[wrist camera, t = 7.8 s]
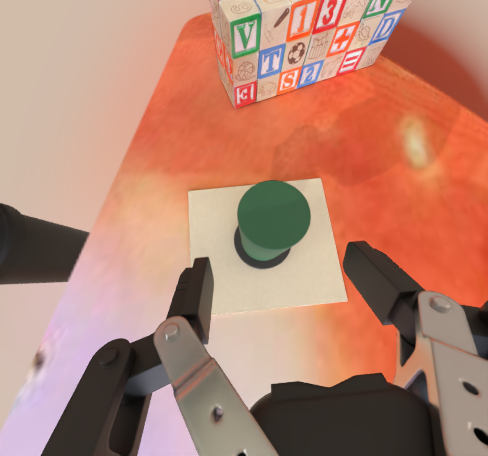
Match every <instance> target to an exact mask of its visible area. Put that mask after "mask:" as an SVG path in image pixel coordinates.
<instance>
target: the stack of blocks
mask: <svg viewBox="0 0 488 456" xmlns="http://www.w3.org/2000/svg"><path fill="white" fill-rule="evenodd" d="M209 1H210V8H211V16H212V22H213V23H212V26H213V34H214V41H215V48H216V53H217V61H218V68H219V75H220V78H221V80H222V82H223V84H224V87H225V89H226V91H227V93H228V96H229V98H230V100H231V102H232V104H233V106H234V107H235V108H238V107H241V106H244V105H247V104H250V103H253V102H255V101H256V102H258V101H261V100H264V99H268V98H271V97H273V96H275V95H280V94H283V93H286V92H289V91H292V90H295V89H296V88H300V87H303V86H306V85H310V84H313V83H315V82H318V81H321V80H324V79H328V78H331V77H334V76H338V75H342V74H345V73H348V72H351V71H354V70H358V69H361V68H364V67H367V66H370V65H373V64H374V62H375V60H376V59H377V57H378V55H379V54H380V52H381V50H382V49H383V47H384V46H385V44H386V42H387V40H388V38H389V36H390V35H391V33H392V31H393V30H394V28H395V26H396V25H397V23H398V21H399V19H400V18H401V17H402V15H403V13H404V12H405V10H406V8H407V6H408V5H409V4H410V3H411V1H412V0H209Z"/></svg>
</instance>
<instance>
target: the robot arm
mask: <svg viewBox="0 0 488 456" xmlns="http://www.w3.org/2000/svg"><path fill="white" fill-rule="evenodd" d="M343 268H344V271H345V273H346V275H347V276H348V277H349V279H350V280H351V282H352V283H353V284H354V286H355V287H356V288H357V290H358V291H359V293H360V294H361V295H362V297H363V298H364V300H365V301H366V302H367V304H368V305H369V307H370V308H371V309H372V311H373V312H374V313H375V315H376V316H377V318H378V319H379V320H380V322H381V323H382V325H391V324H394V326H395V327H396V328H397V329H398V330H397V332H396V373H395V377H394V380H393V384H392V383H389V382H387V381H386V379H385V377H384V376H383V374H382V373H374V374H364V375H355V376H353V377H351V378H349V379H347V380H345V381H343V382H341V383H339V384H337V385H335V386H333V387H323V386H318V385H314V384H309V383H304V382H299V381H297V382H287V383H278V384H271V393H269V394H267V395H265V396H264V397H262V398H261V399H259V400H258V401H257V402H256V403H255V404H254V405H253V406H252V408H251V409H250V410H248V408H247V407H246V405H245V404H244V402H243V401H242V399H241V398H240V396H239V394H238V393H237V391H236V390H235V388H234V387H233V385H232V384H231V382H230V381H229V379H228V378H227V376H226V375H225V373H224V372H223V370H222V369H221V367H220V366H219V364H218V363H217V361H216V360H215V359H214V358H212V357H211V356H210V355H209V353H208V352H207V350H206V349H205V347H204V344H208V339H209V330H210V320H211V310H212V301H213V291H214V277H213V272H212V268H211V264H210V259H209V257H199V258H195V259H194V263H193V267H191V268H186V269H185V270H184V271H183V272H182V274H181V275H180V278H179V281H178V285H177V287H176V291H175V293H174V296H173V299H172V302H171V305H170V309H169V312H168V315H167V318H166V320H165V321H163V322H162V323H161V324H160V325H159V326H158V328H157V329H156V331H155V332H154V333H153V334H151V335H149V336H147V337H144V338H142V339H140V340H137V341H135V342H132V343H129V341H128V340H126V339H122V338H121V339H115V340H112V341H110V342H108V343H107V344H105V345H104V346H103V347H101V348H100V349H99V350H98V351H97V352H96V353H95V355H94V356H93V357H92V359H91V361H90V362H89V364H88V366H87V368H86V370H85V372H84V374H83V376H82V378H81V380H80V381H79V383H78V385H77V387H76V389H75V391H74V393H73V395H72V397H71V399H70V401H69V402H68V404H67V406H66V408H65V410H64V412H63V414H62V416H61V418H60V420H59V422H58V423H57V425H56V427H55V429H54V431H53V433H52V435H51V437H50V439H49V441H48V443H47V444H46V446H45V448H44V450H43V452H42V454H41V456H137V454H138V450H139V446H140V442H141V437H142V433H143V429H144V425H145V421H146V417H147V412H148V408H149V404H150V400H151V396H152V392H154V391H156V390H158V389H160V388H162V387H164V386H166V385H168V384H170V383H171V385H172V387H173V390H174V396H175V399H176V402H177V404H178V407H179V409H180V411H181V414H182V416H183V419H184V421H185V423H186V426H187V428H188V431H189V433H190V435H191V438H192V440H193V443H194V445H195V448H196V450H197V452H198V455H199V456H488V301H487V302H485V304H484V305H483V306H482V307H481V308H478V307H472V306H465V305H459V304H458V303H457V302H456V301H454V300H453V299H451V298H450V297H448V296H446V295H443V294H441V293H438V292H434V291H426V290H424V289H423V288H422V287H421V286H420V285H419V284H418V283H417V282H416V281H415V280H413V279H412V278H411V277H410V276H409V275H408V274H407V273H406V272H405V271H403V270H402V269H401V268H399V266H398V265H397V264H396V263H395V262H393V261H392V260H391V259H390V258H389V257H388V256H387V255H386V254H384V253H382V252H381V251H379V250H377V249H373V248H372V247H371V246H370V245H369V244H368V243H367V242H366V241H355V242H349V243H348V245H347V249H346V253H345V257H344V261H343Z"/></svg>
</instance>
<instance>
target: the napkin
mask: <svg viewBox="0 0 488 456" xmlns="http://www.w3.org/2000/svg"><path fill="white" fill-rule="evenodd" d="M285 182H286V183H288V184H290V185H292V186H294V187H295V188H297V189H298V190H299V191H300V192H301V193H302V194H303V195H304V197H305V198H306V200H307V202H308V204H309V207H310V212H311V221H310V226H309V229H308V231H307V233H306V235H305V236H304V237H303V238H302V240H301V241H299V242H298V243H297V244H296V245H294V246H292V247H291V250H290V252H289V254H288V256H287V258H286V259H285V260H284V261H283V262H282V263H281V264H279V265H278V266H275V267H273V268H270V269H255V268H252V267H250V266H248V265H247V264H245V263H244V262H243V261H242V260H241V259H240V257H239V256H238V254H237V252H236V249H235V246H234V234H235V231H236V228H237V226H238V225H239V224H238V219H237V210H238V205H239V202H240V200H241V198H242V196H243V195H244V194H245V192H246V191H247V190H248V189H250V188H251V187H252V186H254V185H245V186H235V187H225V188H215V189H205V190H195V191H188V201H189V234H190V267H193V263H194V259H195V258H199V257H209V259H210V264H211V268H212V272H213V277H214V291H213V301H212V310H211V315H220V314H229V313H239V312H249V311H258V310H268V309H278V308H287V307H297V306H306V305H316V304H326V303H335V302H345V301H348V300H347V295H346V291H345V286H344V282H343V277H342V273H341V268H340V263H339V259H338V254H337V250H336V245H335V241H334V236H333V231H332V227H331V222H330V218H329V213H328V209H327V204H326V199H325V195H324V190H323V186H322V181H321V178H315V179H305V180H295V181H285ZM255 185H256V184H255Z"/></svg>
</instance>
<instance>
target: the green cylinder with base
mask: <svg viewBox="0 0 488 456" xmlns="http://www.w3.org/2000/svg"><path fill="white" fill-rule="evenodd" d="M237 219H238V224H239V225H238V226H237V228H236V231H235V234H234V246H235V249H236V252H237V254H238V256H239V257H240V259H241V260H242V261H243V262H244V263H245V264H247V265H248V266H250V267H252V268H255V269H270V268H273V267H275V266H278V265H279V264H281V263H282V262H283V261H284V260H285V259H286V258H287V256H288V254H289V252H290V250H291V247H292V246H294V245H296V244H297V243H298V242H299V241H301V240H302V238H303V237H304V236H305V235H306V233H307V231H308V229H309V226H310V221H311V212H310V207H309V204H308V202H307V200H306V198H305V197H304V195H303V194H302V193H301V192H300V191H299V190H298V189H297V188H295V187H294V186H292V185H290V184H288V183H286V182H282V181H276V180H270V181H264V182H260V183H258V184H256V185H254V186H252V187H251V188H250V189H248V190H247V191H246V192H245V194H244V195H243V196H242V198H241V200H240V202H239V205H238V210H237Z"/></svg>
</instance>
